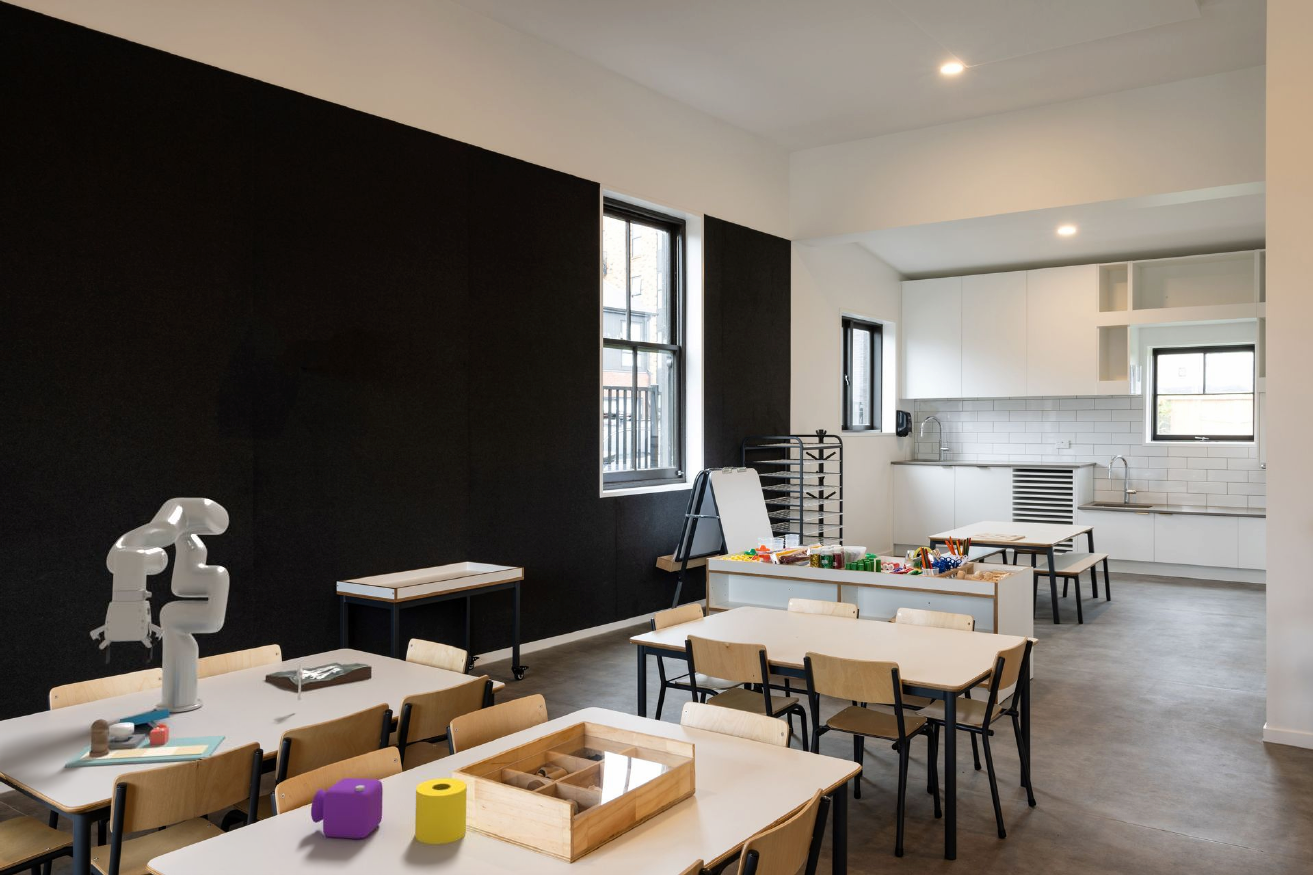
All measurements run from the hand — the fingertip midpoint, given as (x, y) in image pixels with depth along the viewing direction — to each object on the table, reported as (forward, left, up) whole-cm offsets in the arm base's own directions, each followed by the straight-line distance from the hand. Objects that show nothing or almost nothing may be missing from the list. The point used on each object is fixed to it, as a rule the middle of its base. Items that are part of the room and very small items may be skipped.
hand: (126, 663), depth 242 cm
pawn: (+9, -3, -21) cm, 23 cm away
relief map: (-54, +41, -22) cm, 71 cm away
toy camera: (+67, +62, -22) cm, 94 cm away
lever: (-14, +2, -22) cm, 26 cm away
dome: (+1, 0, -19) cm, 19 cm away
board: (+6, +8, -21) cm, 23 cm away
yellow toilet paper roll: (+72, +81, -22) cm, 110 cm away
